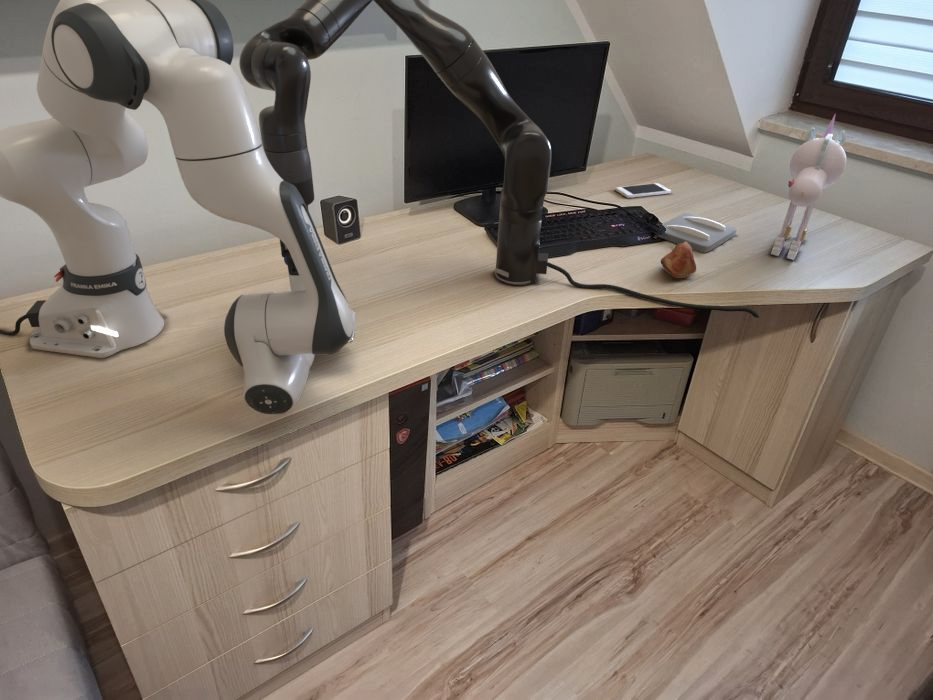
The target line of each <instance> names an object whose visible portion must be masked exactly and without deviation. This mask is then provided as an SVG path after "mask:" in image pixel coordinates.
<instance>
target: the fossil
mask: <svg viewBox="0 0 933 700" xmlns="http://www.w3.org/2000/svg"><path fill="white" fill-rule="evenodd" d="M660 264H661V265H662V267H663V269H664V270H665V272H667V274H669V275H671V277H673V278H675V279H684V278H687V277H689V276H690V275H693V274H695V272H697V264H696V260H695V257H694V252H693V249H692V248H691V246H690V245H689V243H688V242H687V241H685V242H684V243H681V244H676V245H675V246H674V247H673V248H672V250H671V251H670V252H668V253H667V254H666V255H664V256H663V257H662V258H661V259H660Z"/></svg>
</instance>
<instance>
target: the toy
mask: <svg viewBox="0 0 933 700" xmlns="http://www.w3.org/2000/svg"><path fill="white" fill-rule="evenodd" d="M836 116H837V115H836V112H835V113H834V115H833V116H832V119H831V120H830V122H829V124H828V126H827V128H826V130H825V131H824V133H823V134H822V136H821V137H817V138H816V136H817V128H815V127H810V129H809V130H808V133H807V135H806V136H805V142H804V143H802V144H801V145H800V146H798V148H797V149H796V150H795V151H794V152H793V154H792V156H791V159H790V162H789V173H790V175H791V178H792V180H789V181H788V188H789V189H788V198H789V201H790V202H789V205H788V209H787V212H786V215H785V218H784V221H783V223H782V227H781V230H780V233H779V235H777V236H776V239H775V241H774V243H773V246H772V249H771V253H770V255H772V256H776V257H779V255H780V253H781V252H782V249H783V248H784V246H785V242H786V240H789V238H790V234H791V232H792V227H793V225H792V223H793V219H794V217H795V213H796V211H797V208H798V207H801V208H802V207H804V208H805V210H804V213H803V216H802V219H801V222H800V225H799V227H798V230H797V233H796V237H795V239H793V240H792V242H791V245H790V247H789V250H788V253H787V256H786V259H788V260H792V261H794V260H795V259H796V257H797V255H798V253H799V251H800V249H801V245H802V244H803V243H804V240H805V238H806V235H807V231H808V228H807V227H808V224H809V221H810V218H811V215H812V212H813V209H814V207H815V204H816V202H817V201H818V200H819V199H820V197H821V195H822V193H823V191H824V189H827V188H828V187H831V186H832V185H834V184H835V183H836V182H837V181H838V180H840V178H841V177H842V176H843V174H844V173H845V170H846V168H847V167H846V166H847V154H846V152H845V150H844V148H843V145H844V143H845V141H846V140H847V134H846V131H845V130H840V131H839V132H838V133H837V135H836V137H835V139H833V129H834V125H835V120H836ZM841 135H842V138H841V141H840V137H841Z"/></svg>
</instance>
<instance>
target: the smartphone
mask: <svg viewBox="0 0 933 700" xmlns="http://www.w3.org/2000/svg"><path fill="white" fill-rule="evenodd" d="M615 192H617V193H619V194H620V195H622V196H624V197H625V198H628V199H630V198H639V197H640V198H641V197H649V196H656V195H657V196H659V195H665V194H671V192H672V190H671V189H670V188H668V187H666V186H664V185H663V184H661V183H658V182H654V183H645V184H644V183H643V184H636V185H634V184H633V185H626V186H617V187H615Z"/></svg>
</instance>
